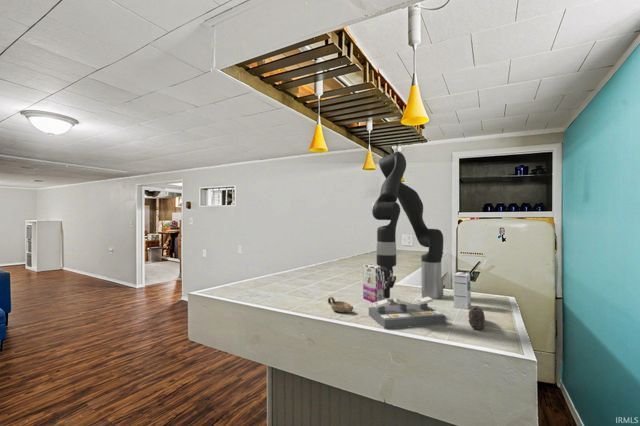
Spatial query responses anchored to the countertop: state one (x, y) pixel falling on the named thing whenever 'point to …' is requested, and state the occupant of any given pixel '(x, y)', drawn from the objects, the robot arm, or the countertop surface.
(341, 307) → the oil lamp
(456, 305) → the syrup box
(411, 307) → the switch console
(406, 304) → the middle rocker
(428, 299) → the rocker
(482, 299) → the countertop surface
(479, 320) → the perforated stone tool
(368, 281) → the candy bar box
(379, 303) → the rocker
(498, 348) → the countertop surface
